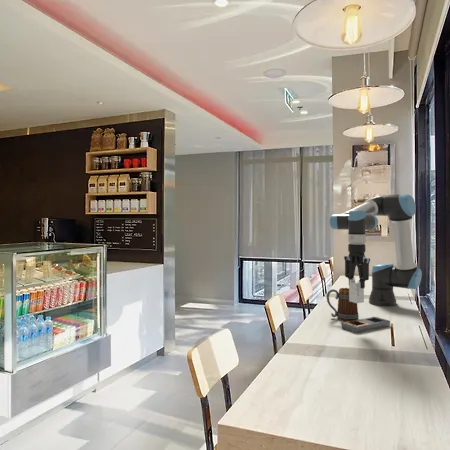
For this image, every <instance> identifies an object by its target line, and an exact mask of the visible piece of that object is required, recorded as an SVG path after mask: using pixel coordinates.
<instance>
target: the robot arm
mask: <svg viewBox="0 0 450 450" xmlns="http://www.w3.org/2000/svg"><path fill="white" fill-rule="evenodd" d="M416 209H417V208H416V202H415V199H414V198H413V196H412V195H410V194H407V193H406V194H402V193H399V194H398V193H397V194H395V193H394V194H381V195H378V196H377V195H376V196H375V197H371V198H368V199H367V200H364V201H363V202H362V204H360V205H358V206H356V207H354V208H352V209H350V210H347V211H344V212H342V213H336V214H332V215H331V216H330V217H329V226H330V228H331V229H333V230H344V231H345V230H348V232H347V233H348V235H347V236H348V241H347V242H348V245H347V252H348V255H346V256H345V255H344V256H343V259H344V277H345V278H347V279H348V283H349V282H354V281H356V279H355V273H356V267H357V272H358V276H359V277H358V278H359V280H357V281H358V296H361V295H364V296H365V287H366V281H369V279H370V277H369V276H370V263H371V262H370V261H371V258H369V257H368V258H367V257H366V255H365V253H366V241H367V240H366V232H367V231H371V230H375V229H376V228H377V227H378V224H379V220H378V216H381V217H382V216H383V217H384V216H385V217H388V221H390V222H391V223H392V229H393V230H392V231H393V239H394V247H395V249H394V250H395V258H396V263H395V264H394V263H378V264H374V265H373V266H372V269H371V292H370V295H369V297H368V302H369V304H371V305H375V306H381V307H382V306H383V307H388V306H389V307H390V306H392V307H393V306H396V305H397V298H396V295H395V292H394V288H402V289H408V290H416V289H417V288H419V286H420V284H421V282H422V276H423V272H422V269H421V268H418V264H417V263H416V262H415V261H414V252H413V243H412V233H411V232H412V231H411V223H410V222H411V220H412V219H413V216H415V214H416V211H417V210H416Z"/></svg>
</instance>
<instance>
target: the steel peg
mask: <svg viewBox="0 0 450 450" xmlns="http://www.w3.org/2000/svg"><path fill="white" fill-rule="evenodd" d="M358 281H359V280H355V281H354V282H349V281H348V288H349V301H350V302H354V303H357V304H360V303H364V302H365V294H364V295H361V296H358Z"/></svg>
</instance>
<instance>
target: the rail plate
mask: <svg viewBox="0 0 450 450" xmlns="http://www.w3.org/2000/svg"><path fill="white" fill-rule="evenodd" d="M387 327H391V320H388V319H385V318H380V317H378V316H371V317H366V318H365V317H364V318H360V319H359V318H358V320H354V321H343V322H341V329H343V330H345V331H349V332H353V333H355V334H359V333H364V332H369V331H373V330H378V329H383V328H387Z"/></svg>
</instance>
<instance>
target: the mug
mask: <svg viewBox="0 0 450 450" xmlns="http://www.w3.org/2000/svg"><path fill="white" fill-rule="evenodd" d="M331 293H335V294H336V295H335V297H334V298H335V300H337V310H336V308H335V307H334V306H333V305H332V304H331V302H330V294H331ZM326 302H327V304H328V306H329V307H330V308H331V309H332V310H333V311H334V313H333V312H331V313H330V315H331V317H333V318H337V319H338V320H341V321H343V322H349V321H354V320H359V316H360V315H359V311H358V310H359V309H358V303H354V302H350V301H349V287H345V288H344V287H341V288H339V290H336V289H334V288H332V289H329V290H328V291H327V293H326Z"/></svg>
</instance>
